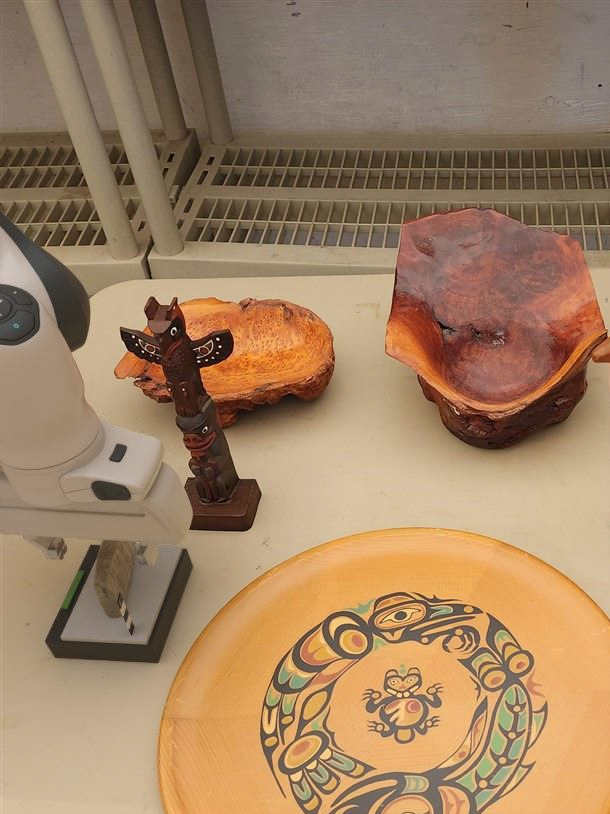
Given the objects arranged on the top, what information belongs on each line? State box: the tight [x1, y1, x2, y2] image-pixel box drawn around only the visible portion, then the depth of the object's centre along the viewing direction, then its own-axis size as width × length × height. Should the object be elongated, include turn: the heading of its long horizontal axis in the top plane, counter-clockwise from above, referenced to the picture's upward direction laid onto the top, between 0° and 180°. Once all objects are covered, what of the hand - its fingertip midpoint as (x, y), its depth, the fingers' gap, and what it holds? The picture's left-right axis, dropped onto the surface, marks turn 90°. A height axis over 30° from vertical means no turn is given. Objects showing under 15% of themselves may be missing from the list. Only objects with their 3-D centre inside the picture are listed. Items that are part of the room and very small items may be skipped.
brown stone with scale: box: [93, 540, 137, 636], centre depth 89 cm, size 6×4×12 cm
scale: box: [44, 543, 194, 664], centre depth 92 cm, size 11×13×4 cm
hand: (103, 557), depth 87 cm, fingers open, 8 cm apart
